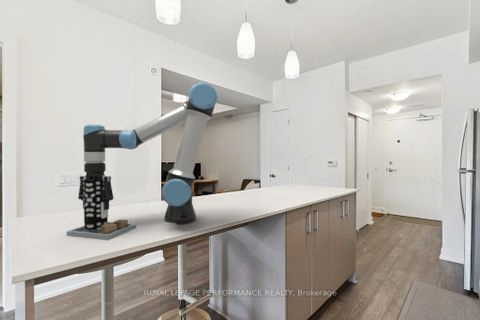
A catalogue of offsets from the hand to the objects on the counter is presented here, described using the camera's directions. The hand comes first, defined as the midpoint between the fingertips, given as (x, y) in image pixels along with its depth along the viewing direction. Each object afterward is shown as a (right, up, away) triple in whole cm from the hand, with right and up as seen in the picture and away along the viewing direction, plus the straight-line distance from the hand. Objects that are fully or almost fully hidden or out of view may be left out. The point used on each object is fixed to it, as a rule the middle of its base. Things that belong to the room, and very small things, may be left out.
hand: (96, 216), depth 98 cm
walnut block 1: (+8, -6, -5) cm, 12 cm away
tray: (+3, -7, -1) cm, 8 cm away
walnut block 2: (+10, -6, +1) cm, 12 cm away
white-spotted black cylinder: (0, -5, 0) cm, 5 cm away
